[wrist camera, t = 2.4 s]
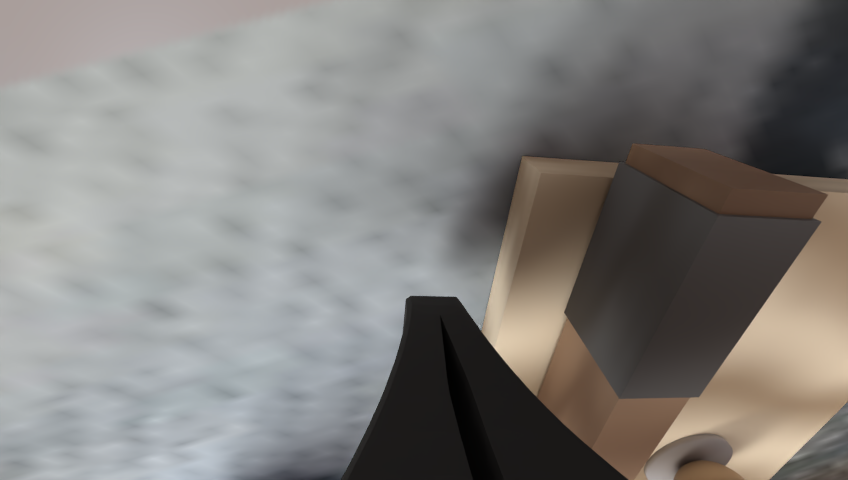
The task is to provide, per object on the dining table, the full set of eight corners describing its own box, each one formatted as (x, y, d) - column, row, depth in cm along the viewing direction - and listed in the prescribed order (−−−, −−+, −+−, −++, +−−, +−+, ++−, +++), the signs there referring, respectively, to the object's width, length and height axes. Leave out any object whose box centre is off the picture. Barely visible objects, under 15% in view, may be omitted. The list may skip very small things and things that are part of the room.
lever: (546, 503, 18) (576, 592, 15) (482, 507, 18) (502, 599, 15) (722, 149, 9) (868, 200, 7) (607, 140, 9) (711, 191, 6)
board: (726, 472, 22) (811, 582, 17) (445, 486, 20) (462, 615, 15) (978, 188, 13) (1272, 267, 9) (522, 156, 11) (613, 238, 7)
